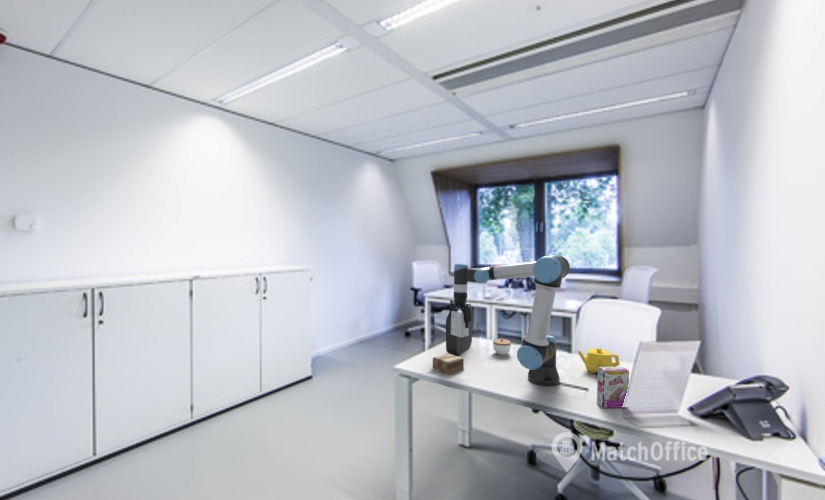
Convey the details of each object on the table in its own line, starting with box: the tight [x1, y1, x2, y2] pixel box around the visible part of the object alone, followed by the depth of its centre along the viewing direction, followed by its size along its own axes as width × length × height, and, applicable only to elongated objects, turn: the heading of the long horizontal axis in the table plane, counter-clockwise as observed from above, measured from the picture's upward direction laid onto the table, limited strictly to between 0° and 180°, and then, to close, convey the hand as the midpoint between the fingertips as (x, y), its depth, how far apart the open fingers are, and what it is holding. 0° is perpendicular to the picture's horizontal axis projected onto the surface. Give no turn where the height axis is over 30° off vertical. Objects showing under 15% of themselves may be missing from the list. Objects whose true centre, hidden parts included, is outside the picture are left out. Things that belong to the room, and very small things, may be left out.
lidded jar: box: [492, 338, 512, 356], centre depth 218 cm, size 11×11×9 cm
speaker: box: [445, 308, 473, 356], centre depth 224 cm, size 25×9×25 cm, turn 149°
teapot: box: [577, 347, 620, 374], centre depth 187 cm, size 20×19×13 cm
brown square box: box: [432, 352, 465, 376], centre depth 193 cm, size 12×12×6 cm
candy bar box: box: [596, 366, 630, 409], centre depth 150 cm, size 11×5×16 cm, turn 92°
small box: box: [451, 309, 469, 337], centre depth 194 cm, size 8×6×13 cm
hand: (459, 331), depth 194 cm, fingers closed on small box, 8 cm apart
